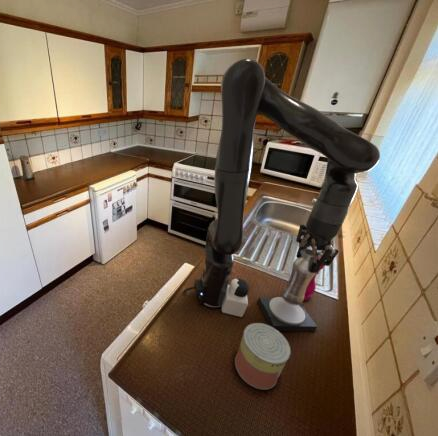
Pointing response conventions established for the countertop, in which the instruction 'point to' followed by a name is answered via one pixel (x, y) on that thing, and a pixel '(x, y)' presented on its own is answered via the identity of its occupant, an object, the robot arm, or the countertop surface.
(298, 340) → the countertop surface
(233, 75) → the robot arm
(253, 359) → the canned food
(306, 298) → the pepper mill
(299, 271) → the plastic bottle
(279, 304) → the scale
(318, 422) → the countertop surface
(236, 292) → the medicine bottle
